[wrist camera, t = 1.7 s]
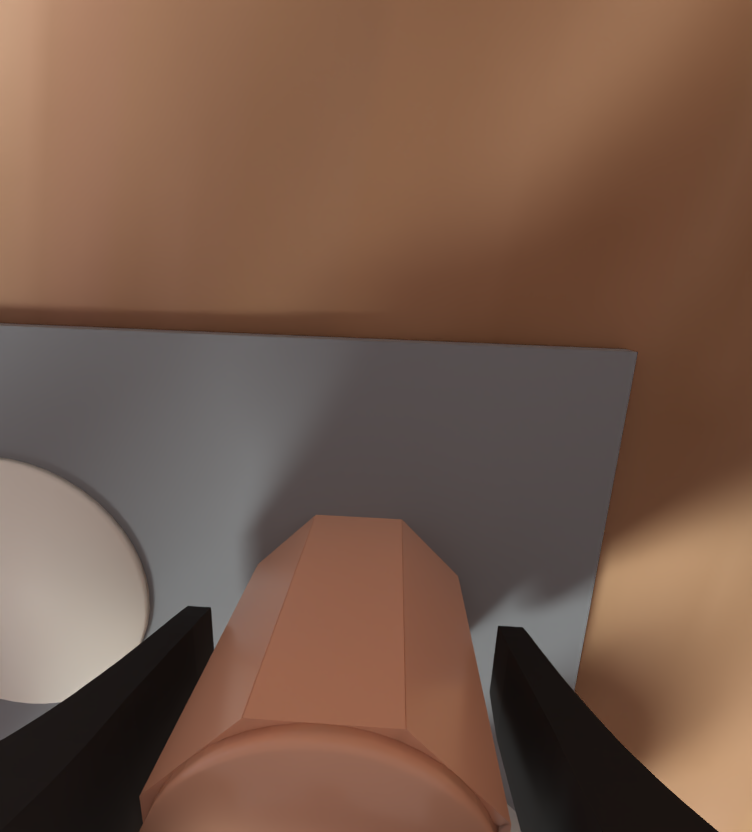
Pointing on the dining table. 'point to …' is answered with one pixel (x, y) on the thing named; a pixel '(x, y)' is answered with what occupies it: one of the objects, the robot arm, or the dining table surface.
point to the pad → (62, 587)
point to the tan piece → (336, 699)
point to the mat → (331, 460)
